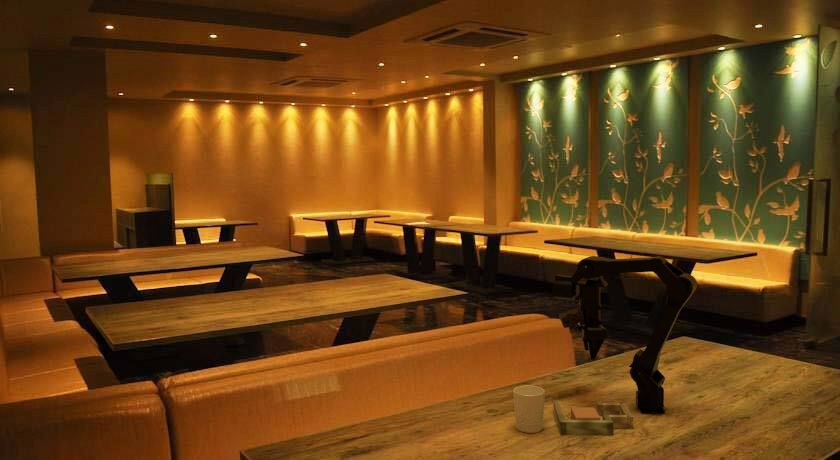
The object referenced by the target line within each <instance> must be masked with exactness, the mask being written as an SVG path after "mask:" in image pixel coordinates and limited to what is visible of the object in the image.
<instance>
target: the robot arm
mask: <svg viewBox="0 0 840 460" xmlns="http://www.w3.org/2000/svg"><path fill="white" fill-rule="evenodd" d="M627 273H629V274H632V273H633V274H634V273H654V274H655V275H656V276H657V277H658V279H659V280H660V281H662V283H663V284H664V285H665V286H666V287H667V288H668V291H667V295H666V301H665V302H666V303H665V306H664V308H663V311H662V313H661V315H660V317H659V319H658V321H657V323H656V324H655V328H654V330H653V331H652V334H651V335H650V338H649V340H648V342H647V345H646V346H645V349H644V350H643V349H642V348H640V349H638V350H637V352H635V354H634V356H633V360H632V363H631V364H630V365H629V366H628V368H630V370H629V375H630V377H631V379H632V380H633V381H634V383H635V385H636V387H637V390H636V391H635V407H637V409H638V410H639V412H640V413H641V414H666V410H665V402H664V401H665V400H664V399H665V388H663V385H664V382H665V381H666V376H664V374H663V373H662V372H661V371H659V369H658V368H659V364H660V357H661V353H662V350H663V348H664V346H665V345H666V342H667V340H668V338H669V335H670V334H671V332H672V329H673V327H674V325H675V323H676V321H677V318H678V316H679V315H680V312H681V310H682V309H683V307H684V306H685V305H686V303H687V302H688V301H689V300H690V298H691V297H692V295H693V294H694V293H695V291H696V290H697V288H698V281H697V279H696V277H694V275H692V274H691V273H685V272H684V271H683V270H681V269H680V268H678V267H677V266H675V265H674V264H672V263H671V262H669V261H668V260H667V259H666V258H665V257H663V256H660V255H657V256H651V257H647V256H646V257H631V258H630V257H629V258H616V259H615V258H608V257H605V256H595V255H590V256H588V257H587V256H586V257H585V258H582V259H580V261H579V262H577V265H576V271H575V272H574V273H573V274H572V276H571V275H564V274H557V275H555V276H554V281H553V284H552V287H551V292H552V293H551V294H552V296H553V298H554V299H563V300H573V301H574V300H575V299H576V298H577V297H579V302H578V303H577V305H576V306H577V307H576V308H574V309H570V310H567V311H565V312H562V313H559V314H558V318H559V320H560V322H561V325H562V327H563V329H567V328H569V327H571V326H575V327H576V328H577V330H578V331H579V332H580V334H581V339H582V343H583V348H584V350H585V351H588V353H589V358H590V360H591V361H593V360H596V357H597V356H598V354H599V352H600V349H601V348H602V346H603V344H604V342H605V341H606V340H607V338H608V330H607V329H606V328H605V327H604V326H603V324H602V323H603V321H602V319H601V311H602V310H603V309H602V308H603V306H602V305H601V288H605V287H608V285H609V283H608V282H607V281H606V280H605V279H604V278H603V277H604V276H607V275H611V274H627ZM602 276H603V277H602ZM598 277H600V278H598ZM594 278H597V279H594ZM586 279H587V280H586ZM582 280H586V281H582Z"/></svg>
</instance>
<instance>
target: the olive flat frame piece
mask: <svg viewBox="0 0 840 460" xmlns="http://www.w3.org/2000/svg"><path fill="white" fill-rule="evenodd" d="M552 404H553V405H552V406H553V407H552V408H553V414H554V418H555V421H556V424H557V428H558V430H559V433H560V435H575V436H576V435H579V436H580V435H581V436H582V435H584V436H585V435H587V436H588V435H589V436H591V435H594V436H598V435H599V436H614V429H625V430H626V429H629V430H633V429H634V416H633V415H632V413H631V412H630V410H629V408H628V407H627V405H626V403H625V402H603V400H595V410H596V412H597V413H598V415H599V417H601V416H602V419H600V420H571V419H566V417H565V415H564V412H563V409H562V406H561V403H560V401H559V400H553V403H552Z"/></svg>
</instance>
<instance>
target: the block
mask: <svg viewBox="0 0 840 460" xmlns="http://www.w3.org/2000/svg"><path fill="white" fill-rule="evenodd" d="M570 420H601V416H599V415H598V413H597V412H596V407H570Z"/></svg>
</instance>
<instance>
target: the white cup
mask: <svg viewBox="0 0 840 460" xmlns="http://www.w3.org/2000/svg"><path fill="white" fill-rule="evenodd" d="M512 390H513V391H512V392H513V408H514V417H515V428H516V429H517V431H519V432H522V433H527V434H536V433H540V432H541V431H542V430H543V421H544V410H545V394H546V393H545V389H544V388H542V387H540V386H537V385H519V386H516V387H515V388H513V389H512Z"/></svg>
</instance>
